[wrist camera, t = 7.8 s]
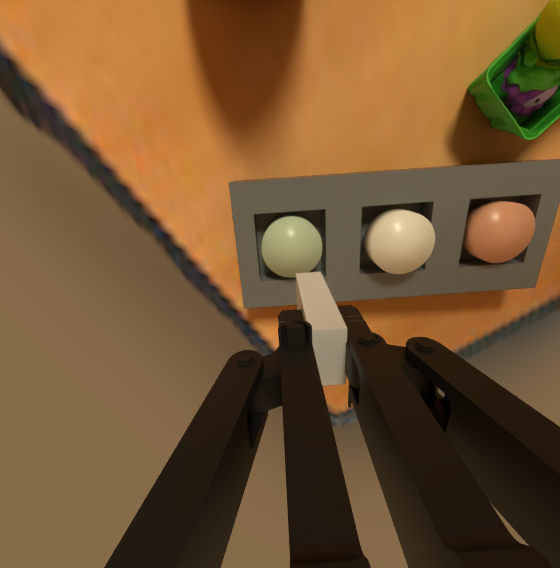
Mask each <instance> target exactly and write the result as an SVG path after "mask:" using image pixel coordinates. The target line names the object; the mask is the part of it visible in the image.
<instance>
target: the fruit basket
mask: <svg viewBox="0 0 560 568" xmlns="http://www.w3.org/2000/svg"><path fill="white" fill-rule="evenodd" d="M468 92H469V93H470V94H472V95H473V96H475V101H476V103H477V105H478V106H479V108H480V109H481V111H482V112H483V114H484V115H485V117H487V118H488V119H490V122H491V126H492V127H493V128H495V129H498V130H502V131H506V132H509V133H513V134H516V135H517V136H519V137H521V138H524V139H526V140H532V139H535V138H537V137H538V136H539V135H540V134H541V133H543V132H544V131H545V130H546V129H547V128H548V127H549V126H550V125H551V124H553V123H554V122H555V121H556V120H557V119H558V118H559V117H560V0H550V1H549V2H548V4H547V5H546V6H545V8H544V10H543V12H542V13H541V14H540V15H539V16H538V17H537V19H536V20H535V21H534V22H533V23H532V24H530V25H529V26H528V27H527V28H526V29H525V30H524V31H523V32H522V33H521V34H520V35H519V36H518V37H517V38H516V39H515V40H514V41H513V42H512V44H511V45H510V46H509V47H508V48H507V49H506V50H504V51H503V52H502V53H501V54H500V55H499V56H498V57H497V58H496V59H495V60H494V61H493V62H492V63H491V64H490V65H489V67H488V68H487V69H486V70H485V71H484V72H483V73H482V74H480V75H479V76H478V77H477V78H476V79H475V80H474V81H473V82H472V83H471V84H470V85H469V87H468Z"/></svg>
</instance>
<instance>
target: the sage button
mask: <svg viewBox="0 0 560 568" xmlns="http://www.w3.org/2000/svg"><path fill="white" fill-rule="evenodd" d="M321 254H322V240H321V237H320V235H319V233H318V231H317V230H316V228H315V227H314V226H313V224H312V223H311V222H310V221H308V220H307V219H306V218H304V217H302V216H299V215H294V214H288V215H283V216H280V217H278V218H276V219H274V220H273V221H272V222H271V223H270V224H269V225H268V226H267V228H266V230H265V232H264V234H263V238H262V256H263V259H264V261H265V263H266V265H267V266H268V267H269V268H270V269H271V270H272V271H273V272H274V273H276V274H278V275H280V276H283V277H289V278H294V277H296V273H308V272H310V271H311V270H312V269H313V268H314V267H315V266H316V265H317V263H318V262H319V260H320V258H321Z"/></svg>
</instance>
